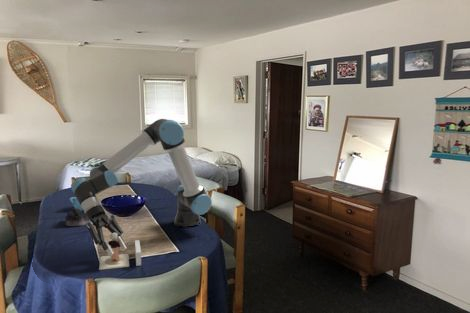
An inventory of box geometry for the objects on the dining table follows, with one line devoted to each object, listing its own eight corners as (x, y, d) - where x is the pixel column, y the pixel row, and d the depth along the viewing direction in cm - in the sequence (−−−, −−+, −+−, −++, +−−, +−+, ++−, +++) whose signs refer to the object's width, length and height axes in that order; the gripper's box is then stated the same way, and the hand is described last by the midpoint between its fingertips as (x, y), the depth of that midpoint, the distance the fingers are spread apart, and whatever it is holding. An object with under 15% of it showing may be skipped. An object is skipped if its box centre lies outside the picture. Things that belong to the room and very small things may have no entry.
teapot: (68, 212, 221) (67, 195, 219) (81, 204, 235) (80, 188, 233) (87, 214, 220) (86, 196, 217) (99, 206, 233) (98, 190, 231)
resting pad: (128, 254, 163) (128, 253, 163) (129, 266, 152) (129, 265, 152) (100, 257, 159) (100, 256, 159) (99, 269, 148) (99, 268, 148)
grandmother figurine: (124, 259, 157) (124, 231, 155) (120, 263, 153) (120, 235, 151) (108, 257, 158) (107, 230, 156) (104, 261, 154) (103, 233, 152)
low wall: (139, 252, 166) (139, 239, 166) (141, 265, 153) (140, 252, 152) (135, 252, 166) (134, 240, 165) (136, 265, 153) (136, 252, 152)
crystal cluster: (82, 218, 212) (80, 202, 210) (94, 222, 203) (92, 205, 201) (60, 226, 201) (57, 209, 200) (72, 230, 193) (69, 212, 191)
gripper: (107, 208, 169) (131, 249, 163) (70, 219, 153) (95, 264, 147) (114, 199, 166) (139, 241, 160) (77, 209, 150) (103, 256, 144)
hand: (118, 252), depth 153 cm, fingers open, 6 cm apart
